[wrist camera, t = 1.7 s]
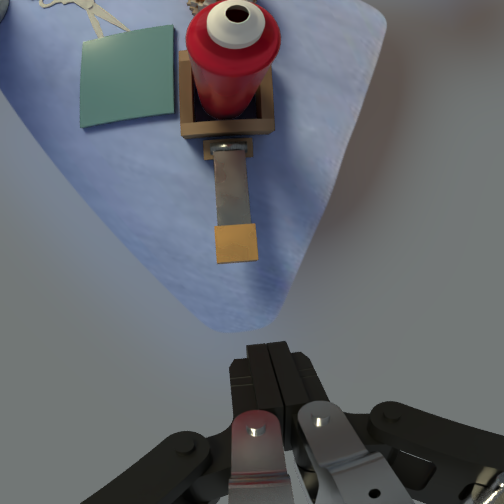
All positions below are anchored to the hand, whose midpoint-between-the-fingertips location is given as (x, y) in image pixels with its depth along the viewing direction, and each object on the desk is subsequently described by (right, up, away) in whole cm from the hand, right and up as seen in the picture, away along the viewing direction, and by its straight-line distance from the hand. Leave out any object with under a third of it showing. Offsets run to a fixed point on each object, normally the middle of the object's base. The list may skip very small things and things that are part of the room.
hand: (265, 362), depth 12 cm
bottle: (-3, +21, +19) cm, 29 cm away
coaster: (-15, +24, +17) cm, 33 cm away
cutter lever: (-2, +9, +18) cm, 20 cm away
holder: (-3, +20, +19) cm, 28 cm away
